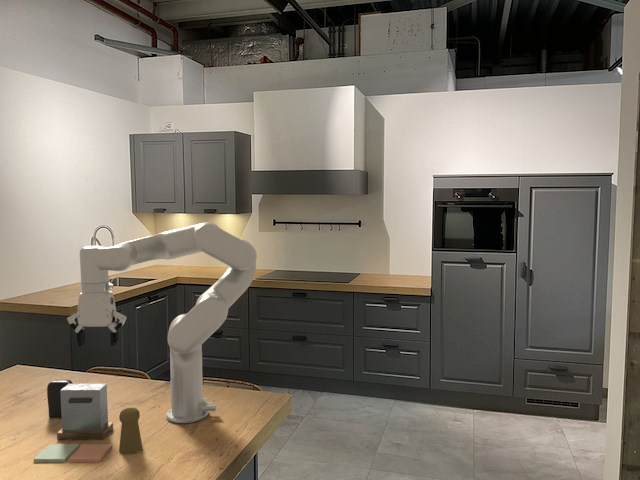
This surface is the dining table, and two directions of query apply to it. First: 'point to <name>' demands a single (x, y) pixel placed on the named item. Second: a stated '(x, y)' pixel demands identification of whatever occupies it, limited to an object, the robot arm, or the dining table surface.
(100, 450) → the terracotta pad
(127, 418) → the brown pepper mill
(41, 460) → the green pad
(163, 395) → the dining table surface
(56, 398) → the battery charger
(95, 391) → the grey unit
